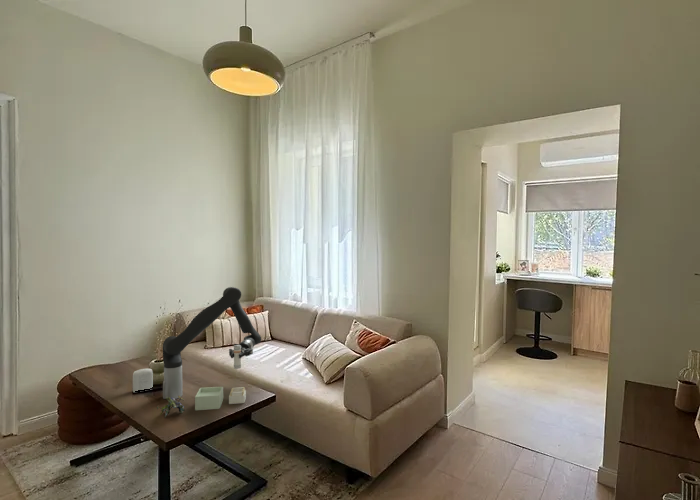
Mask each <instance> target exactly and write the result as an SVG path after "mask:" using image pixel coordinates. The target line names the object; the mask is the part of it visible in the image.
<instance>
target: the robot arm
mask: <svg viewBox="0 0 700 500" xmlns="http://www.w3.org/2000/svg"><path fill="white" fill-rule="evenodd" d="M241 297H242V291H241V289H239V288H238V287H234V286H232V287H231V286H229V287H227V288H225V289H224V290H223V293H222V296H221V298H219V299H218V300H217V301H216V302H214V303H212V304H210V305H208V306H207V307H205V308H204V309H202V310H201V311H200V312H199V313H198V314H196V315H195V316H194V317H193V318H192V320H191V321H190V323H189V324H188V325H187V326H186V328H185V329H184V330H183V331H182V332H180V333H179V334H177V336H175V335H172V336H171V335H170V336H168V337H166V338H165V339H164V341H163V342H162V360H163V378H164V379H163V382H162V399H163V400H167V399H166V397H167V398H168V397H170V398H171V397H172V398H175V399H176V400H177V399H180V398H179V397H178V396H180V397H183V359H182V354H181V352H183V351H184V349H185V348H186V347H187V346H188V345H189V344H190V343H191V342H192V341H193V340H194V339H195V338H197V337H198V336H199V335H201V333H202V332H204V331H205V330H206V329H207V328H208V327H209V326H210V325H212V324H213V323H214V322H215V321H216V320H217V319H218V318H220V316H221V315H222V314H223V313H225V312H226V311H227V310H228V309H229V308H230V309H231V311H232V313H233V315H234V318H235V319H236V322H237V324H238V326H239V328H240V331H241V332H242V333H243V334H248V335H246V336H245V337H244V338H243V340H242V341H240V343H239V344H238V345H241V353H240V354H239V358H241V359H242V358H243V357H248V356H250V355H253V352H254V349H253V348H254V347H255V345H259V344H260V343H262V337H261V334H260V333H259V332H258V331H257V330H256V328H255V326H253V323H252V322H251V319H250V318H249V316H248V314H247V312H246V311H245V310H244V309H243V307H242V305H241V303H240V299H241ZM228 350H229V351H228V352H229V353H228V354H229V357H230V358H231V359H234V349H232V348H229V349H228Z"/></svg>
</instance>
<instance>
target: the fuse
mask: <svg viewBox="0 0 700 500" xmlns="http://www.w3.org/2000/svg"><path fill="white" fill-rule="evenodd" d="M233 350H234V358H233V369H235V370H237V369H241V368H242V358H239V354H240V353H241V345H239V344H234V345H233Z"/></svg>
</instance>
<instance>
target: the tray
mask: <svg viewBox="0 0 700 500" xmlns="http://www.w3.org/2000/svg"><path fill="white" fill-rule="evenodd" d="M223 400H224V386H212V387H211V386H209V387H199V389H198V391H197V393H196V395H195V396H194V411H206V410H219V409H221V406H222V403H223Z"/></svg>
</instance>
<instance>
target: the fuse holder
mask: <svg viewBox="0 0 700 500" xmlns="http://www.w3.org/2000/svg"><path fill="white" fill-rule="evenodd" d="M246 398H247V389H246V388H245V386H243V387H242V386H240V387H239V386H238V387H232V388H231V389H230V393H229V395H228V404H229V405H233V404H234V405H235V404H236V405H237V404H245V402H246Z"/></svg>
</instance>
